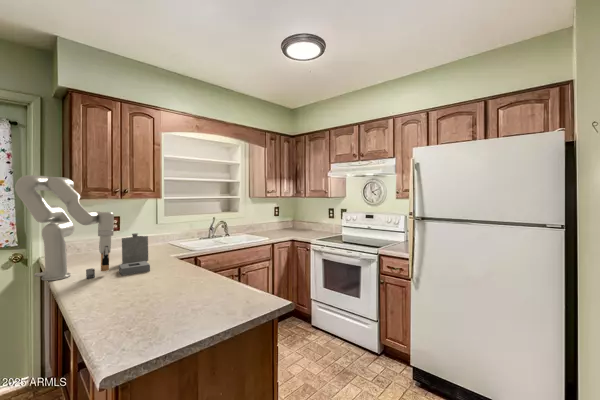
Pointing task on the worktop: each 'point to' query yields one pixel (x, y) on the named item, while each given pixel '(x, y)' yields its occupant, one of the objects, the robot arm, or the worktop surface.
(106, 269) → the long pin
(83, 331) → the worktop surface
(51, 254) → the robot arm
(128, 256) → the hip flask
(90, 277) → the short pin
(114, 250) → the worktop surface
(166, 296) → the worktop surface
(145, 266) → the hole block
